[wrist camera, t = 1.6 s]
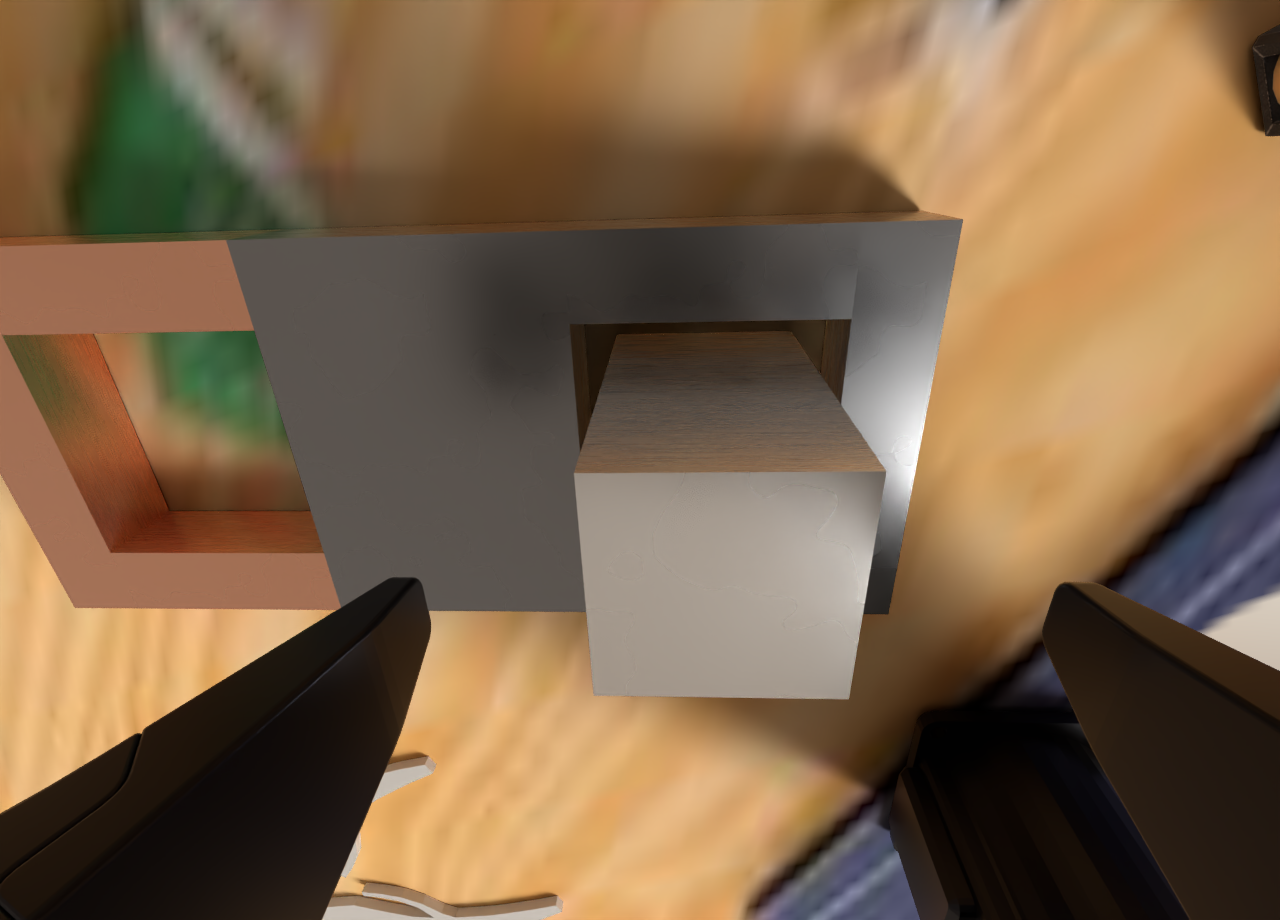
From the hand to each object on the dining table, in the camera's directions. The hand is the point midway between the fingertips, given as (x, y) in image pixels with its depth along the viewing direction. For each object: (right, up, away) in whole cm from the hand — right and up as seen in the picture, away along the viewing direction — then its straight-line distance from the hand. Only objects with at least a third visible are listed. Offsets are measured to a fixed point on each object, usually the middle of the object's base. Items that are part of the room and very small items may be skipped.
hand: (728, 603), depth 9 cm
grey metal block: (0, +3, +6) cm, 7 cm away
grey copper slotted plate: (-6, +3, +7) cm, 9 cm away
